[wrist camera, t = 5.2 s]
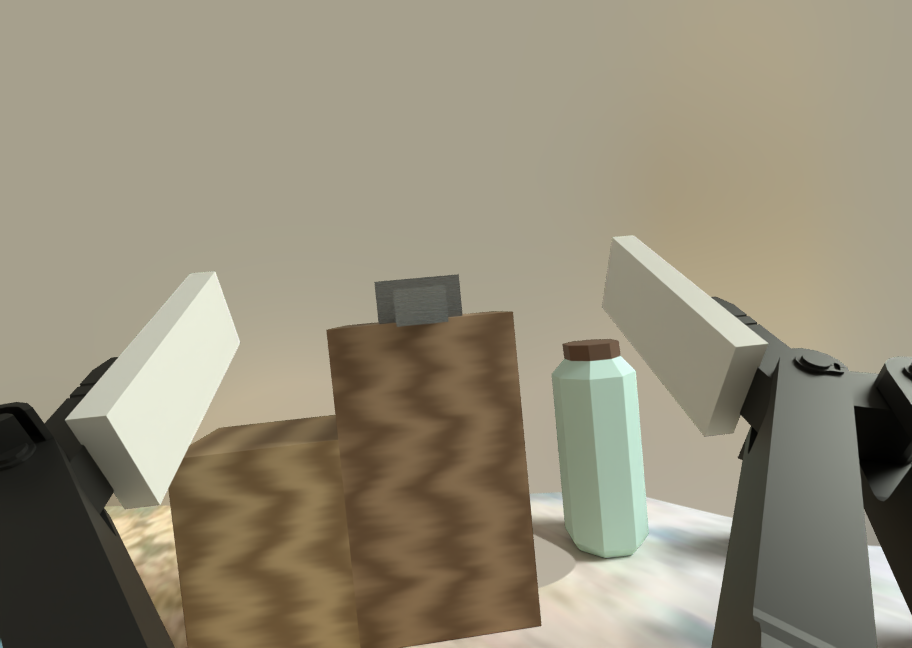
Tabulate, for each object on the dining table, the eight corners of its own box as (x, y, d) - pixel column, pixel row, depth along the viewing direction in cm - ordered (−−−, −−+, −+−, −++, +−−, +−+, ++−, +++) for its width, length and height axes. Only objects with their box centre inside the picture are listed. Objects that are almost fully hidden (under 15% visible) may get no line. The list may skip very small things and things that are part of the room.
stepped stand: (191, 680, 41) (151, 346, 40) (239, 601, 52) (208, 338, 51) (541, 625, 44) (512, 311, 42) (516, 562, 54) (493, 311, 53)
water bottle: (549, 535, 60) (532, 345, 59) (608, 514, 64) (593, 336, 63) (604, 572, 51) (585, 349, 50) (668, 545, 55) (651, 338, 54)
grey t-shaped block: (362, 330, 30) (356, 270, 30) (384, 322, 51) (381, 286, 51) (481, 318, 31) (476, 259, 31) (455, 315, 52) (452, 279, 52)
